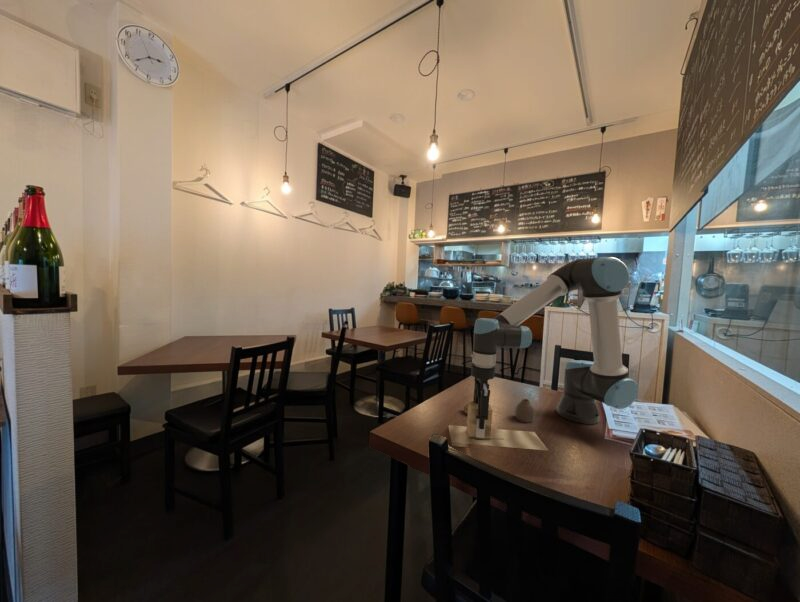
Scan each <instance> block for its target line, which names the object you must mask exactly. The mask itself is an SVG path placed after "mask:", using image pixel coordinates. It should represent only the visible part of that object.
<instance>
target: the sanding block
mask: <svg viewBox="0 0 800 602" xmlns="http://www.w3.org/2000/svg"><path fill="white" fill-rule="evenodd" d="M467 404H468V414H467V416H466V417H467V418H466V427H467V430H466V431H467V434H468V438H471V439H483V440H490V437H491V429H492V423H493V409H492V407H491V405H490V404H489V408H488V420H486V424H485V437H484V438H476V424H477V419H476V416H478V403H469V402H468V403H467Z"/></svg>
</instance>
